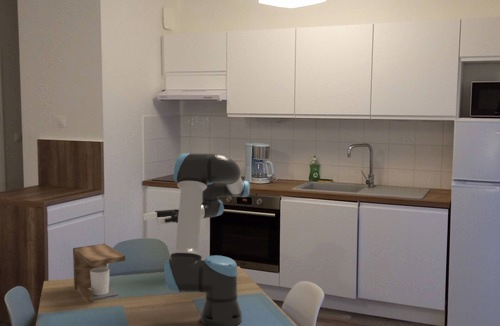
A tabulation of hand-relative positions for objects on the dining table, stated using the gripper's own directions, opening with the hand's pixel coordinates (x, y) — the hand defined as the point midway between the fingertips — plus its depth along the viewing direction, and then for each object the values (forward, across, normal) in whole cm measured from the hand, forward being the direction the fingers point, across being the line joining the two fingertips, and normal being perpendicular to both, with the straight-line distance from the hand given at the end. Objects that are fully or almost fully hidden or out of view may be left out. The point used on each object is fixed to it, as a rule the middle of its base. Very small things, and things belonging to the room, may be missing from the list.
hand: (150, 219), depth 241 cm
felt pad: (+24, +3, -29) cm, 37 cm away
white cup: (+23, +3, -28) cm, 37 cm away
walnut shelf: (+24, +4, -29) cm, 37 cm away
